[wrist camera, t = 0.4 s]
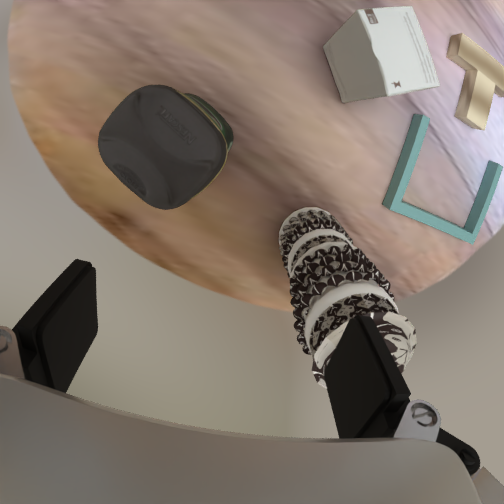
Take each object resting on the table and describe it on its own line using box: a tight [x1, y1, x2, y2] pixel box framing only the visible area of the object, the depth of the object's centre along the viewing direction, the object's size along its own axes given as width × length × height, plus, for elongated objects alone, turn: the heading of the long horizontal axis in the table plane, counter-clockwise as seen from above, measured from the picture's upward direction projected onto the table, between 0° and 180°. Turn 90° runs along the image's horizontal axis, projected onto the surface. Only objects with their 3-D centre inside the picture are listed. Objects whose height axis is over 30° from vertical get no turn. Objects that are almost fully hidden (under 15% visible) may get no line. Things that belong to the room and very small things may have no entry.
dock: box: [383, 114, 503, 244], centre depth 38 cm, size 14×17×2 cm
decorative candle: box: [279, 207, 417, 389], centre depth 31 cm, size 9×9×25 cm
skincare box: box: [323, 6, 440, 103], centre depth 26 cm, size 8×6×15 cm
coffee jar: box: [98, 85, 233, 210], centre depth 28 cm, size 10×8×19 cm
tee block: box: [446, 33, 504, 130], centre depth 32 cm, size 12×12×3 cm
